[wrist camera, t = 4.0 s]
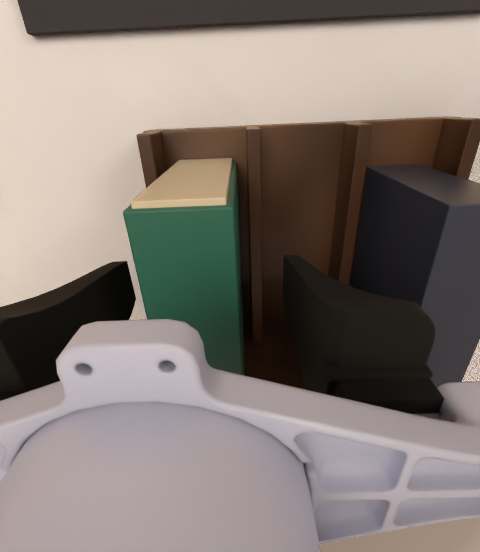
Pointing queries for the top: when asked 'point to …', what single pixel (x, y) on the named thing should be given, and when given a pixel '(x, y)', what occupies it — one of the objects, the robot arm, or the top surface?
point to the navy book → (424, 254)
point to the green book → (193, 254)
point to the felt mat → (214, 12)
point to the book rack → (304, 202)
